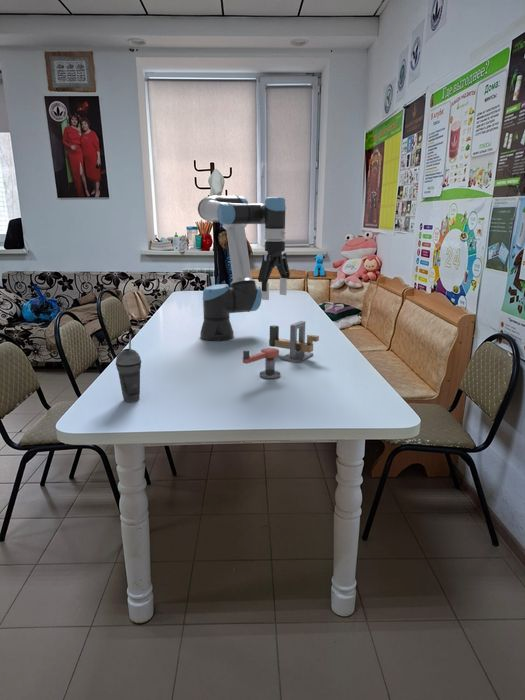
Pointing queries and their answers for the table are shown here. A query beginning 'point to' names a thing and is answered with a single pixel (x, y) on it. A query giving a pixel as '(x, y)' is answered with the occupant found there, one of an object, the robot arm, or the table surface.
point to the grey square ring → (294, 354)
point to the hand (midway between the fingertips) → (274, 297)
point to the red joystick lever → (260, 355)
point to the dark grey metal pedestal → (269, 369)
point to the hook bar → (284, 343)
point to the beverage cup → (129, 373)
